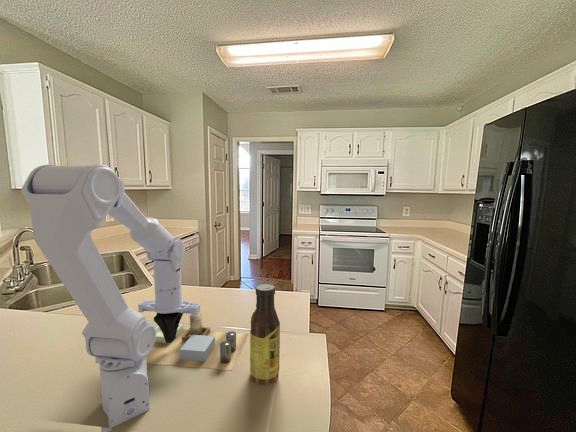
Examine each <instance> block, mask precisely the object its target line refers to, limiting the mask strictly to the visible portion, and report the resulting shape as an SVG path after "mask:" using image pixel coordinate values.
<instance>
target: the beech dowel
mask: <svg viewBox="0 0 576 432" xmlns="http://www.w3.org/2000/svg"><path fill="white" fill-rule="evenodd" d="M202 327H203V314H202V312H201V311H200V312H199V313H198V314H197V315H196V316H195V315H192V314H189V328H190V335H191V336H192V335H202Z"/></svg>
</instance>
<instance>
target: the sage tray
mask: <svg viewBox="0 0 576 432" xmlns="http://www.w3.org/2000/svg"><path fill="white" fill-rule="evenodd" d="M155 330H156V339H155V343H162V344H171V343H166V341H165V338H164V336H163V333H162V331H161V329H160V327H159V326H158V325H157V326H156V327H155ZM183 330H184V323H179V325H178V328H177V333H176V338H177V337H178V336H179V334H180V333H181V332H182V331H183ZM176 338H175V339H176ZM175 339H174V340H175Z"/></svg>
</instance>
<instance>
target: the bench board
mask: <svg viewBox="0 0 576 432" xmlns="http://www.w3.org/2000/svg"><path fill="white" fill-rule="evenodd" d="M226 333H228V332H225V331H224V332H223V331H213V330H212V331H211V327H209V326H202V335H204V336H215V347H214V348H213V350H212V352H211V353H210V355H209V356H208V358H207V359H206V361H205V362H203V361H190V360H180V349H181V347H182V346H183V345H184V344H185V343H186V341H187V340H188V339H189V338H190V337H191V335H190V327H189V329H183V331H182V332H181V333H180V334H179V336H178V337H177V338H176V339H175V340H174V341H173V342H172V343H171V344H162V343H154V346H153V348H152V349H151V351H150V352H149V354H148V355H147V356H146V360H147V364H148V365H160V366H172V367H183V368H184V367H186V368H198V369H209V370H221V371H233V369H234V368H235V366H236V363H237V361H238V358H239V356H240V355H241V352H242V350H243V348H244V345H245V343H246V341H247V338H248V337H249V333H239V332H236V351H234V352H231V361H230V362H229V363H227V364H222V363H221V362H220V343H221V342H223V341H226Z"/></svg>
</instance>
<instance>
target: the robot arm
mask: <svg viewBox="0 0 576 432" xmlns="http://www.w3.org/2000/svg"><path fill="white" fill-rule="evenodd" d="M20 193H21V194H22V196H23V198H24V199H25V201H26V202H27V203H28V206H29V207H30V215H31V216H30V217H31V227H32V235H33V236H32V237H33V240H34V241H35V243H36V245H37V247H38V248H39V250H40V251H41V253H42V254H43V255H44V257H45V259H46V260H47V262H48V263H49V265H50V266H51V267H52V269H53V271H54V273H56V275H57V277H58V279H60V281H61V283H62V284H63V285H64V287H65V289H66V291H67V292H68V293H69V295H70V296H71V298H72V299H73V301H74V302H75V304H76V306H77V307H78V308H79V310H80V311H81V312H82V314H83V316H84V317H85V319H86V320H87V323H86V325H85V327H84V329H83V330H82V331H81V334H82V336H83V337H84V338H85V350H86V352H87V354H88V355H89V356H91V357H95V358H94V359H95V364H98V365H99V377H100V391H101V404H102V407H101V408H102V411H103V412H104V413H105V414H106V416H107V419H108V426H101V427H100V428H101V432H112V431H113V428H114V427H116V426H119V425H120V424H123V423H125V422H127V421H129V420H131V419H133V418H135V417H137V416H139V415H141V414H143V413H145V412H148V411H149V410H151V408H150V407H151V406H150V388H149V378H148V365H147V360H146V356H147V355H148V354H149V352H150V351H151V349H152V348H153V346H154V343H155V339H156V330H155V328H156V327H155V325H154V323H155V324H156V325H157V326H159V327H160V329H161V331H162V333H163V336H164V338H165V341H166V343H172V342H173V341H174V339H175V338H176V333H177V328H178V325H179V324H180V322H181V320H182V317H183V316H184V314H186V315H187V314H188V315H191V314H192V315H195V316H196V315H197V314H198V313H199V312H200V313H201V304H200V303H193V302H190V301H187V300H183V293H182V271H181V270H182V269H181V268H182V267H183V265H184V256H185V252H186V246H185V243H184V240H182V239H181V238H180V237H176V236H173V235H172V234H171V233H170V232H169V231H168V230H167V229H166V228H165V227H164V226H163V225H162V224H161V223H160V220H159V219H158V218H156V217H151V216H148V217H146V216H145V215H144V213H142V211H141V210H140V209H139V208H138V206H137V205H136V204H135V203H134V201H132V199H131V198H130V197H129V196H128V194H127V193H126V192H125V182H124V181H123V179H121V178H120V177H118V175H117V173H116V172H115V171H114V169H112V168H111V167H109V166H108V165H106V164H105V165H104V164H100V163H99V164H92V165H57V164H56V165H55V164H43V165H39V166H37V167H35V168H34V169H33V170H31V171H30V173H29V175H28V177H27V178H26V180H25V181H24V184H23V185H22V187H21V189H20ZM108 215H109V216H110V217H112V218H113V219H115V220H116V221H118V222H119V223H120V224H121V225H123V226H124V227H126V228H127V229H129V230H130V231H129V236H130V238H131V240H132V241H134V242H135V243H136V244H138V245H139V246H140V247H141V248H143V249H144V251H145V255H146V257H147V259H148V260H150V261H153V277H154V278H153V281H154V297H155V300H143V301H142V302H140V303H138V304H137V306H138V307H137V308H138V311H136V310H135V309H132V308H130V307H129V306H128V304H127V303H126V300H125V299H124V297H123V295H122V293H121V291H120V288H119V287H118V286H117V284H116V281H115V280H114V277H113V276H112V274H111V272H110V270H109V268H108V266H107V264H106V262H105V261H104V258H103V257H102V255H101V253H100V251H99V249H98V247H97V244H96V243H95V241H94V240H93V238H92V236H91V234H92V232H93V231H94V230H95V229H98V227H100V225H101V224H102V223H103V221H104V220H105V219H106V217H107V216H108ZM144 312H154V313H156V315H155V316H154V317H153V322H154V323H152V322H149V321H148V320H147V319H146V317H145V315H143V314H142V313H144Z"/></svg>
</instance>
